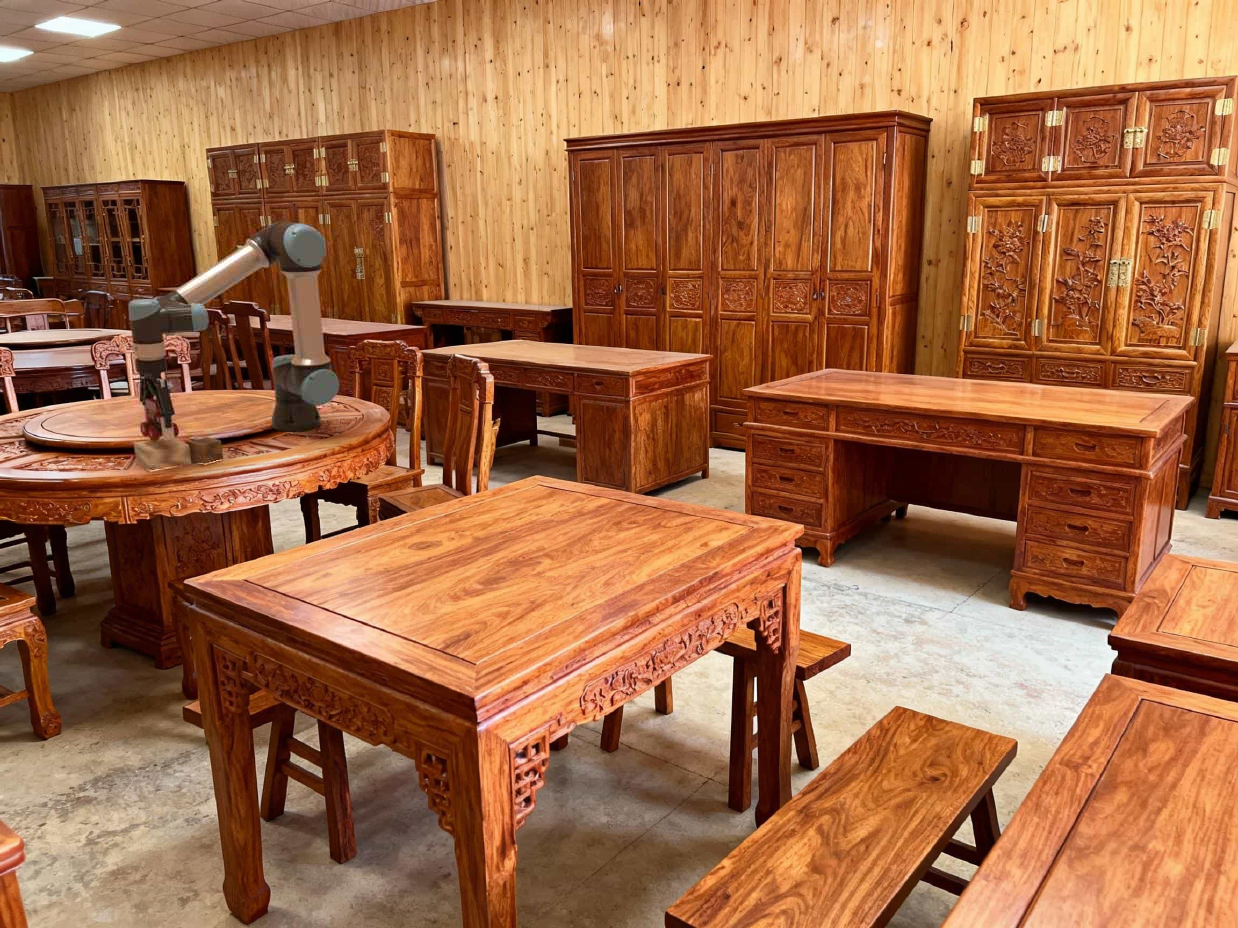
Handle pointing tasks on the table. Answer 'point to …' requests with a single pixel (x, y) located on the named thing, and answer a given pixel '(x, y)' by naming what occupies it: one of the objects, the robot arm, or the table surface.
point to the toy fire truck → (154, 421)
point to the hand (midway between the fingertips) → (160, 433)
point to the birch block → (162, 453)
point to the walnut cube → (205, 450)
